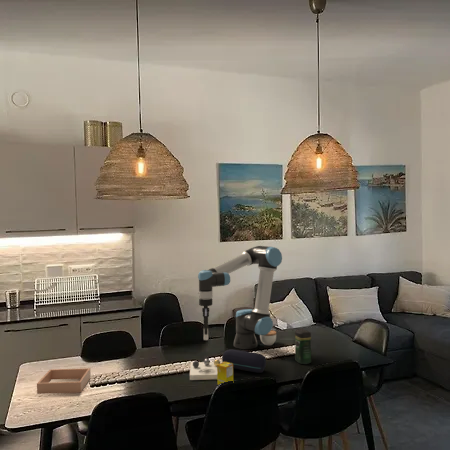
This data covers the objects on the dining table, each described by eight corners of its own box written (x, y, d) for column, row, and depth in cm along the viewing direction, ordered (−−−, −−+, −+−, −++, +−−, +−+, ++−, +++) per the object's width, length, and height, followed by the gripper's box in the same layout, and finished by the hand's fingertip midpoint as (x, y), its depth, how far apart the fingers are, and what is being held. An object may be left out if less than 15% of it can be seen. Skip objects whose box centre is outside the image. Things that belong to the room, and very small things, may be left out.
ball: (209, 363, 263) (209, 357, 263) (210, 366, 260) (209, 359, 260) (203, 364, 263) (203, 358, 263) (203, 366, 260) (203, 360, 260)
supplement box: (224, 382, 242) (224, 361, 242) (233, 385, 239) (233, 363, 238) (217, 386, 238) (216, 364, 237) (226, 388, 234) (226, 366, 234)
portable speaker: (269, 370, 259) (269, 352, 259) (261, 376, 250) (261, 357, 250) (229, 363, 272) (229, 346, 271) (220, 368, 263) (220, 350, 263)
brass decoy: (220, 364, 262) (219, 358, 262) (220, 366, 258) (220, 360, 258) (213, 365, 262) (213, 358, 261) (213, 367, 258) (213, 360, 258)
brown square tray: (90, 377, 252) (90, 368, 252) (80, 392, 232) (80, 382, 232) (50, 378, 251) (49, 369, 251) (37, 393, 231) (36, 383, 231)
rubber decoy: (199, 366, 260) (198, 359, 260) (198, 368, 257) (198, 362, 257) (192, 366, 260) (192, 360, 260) (192, 368, 257) (192, 362, 256)
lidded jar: (256, 342, 311) (256, 328, 311) (271, 340, 316) (271, 326, 315) (265, 347, 301) (264, 332, 301) (279, 344, 306) (279, 330, 306)
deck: (190, 366, 266) (190, 362, 266) (222, 366, 267) (222, 361, 267) (189, 380, 246) (189, 375, 246) (224, 378, 247) (224, 374, 247)
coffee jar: (313, 363, 269) (313, 331, 268) (300, 365, 266) (300, 332, 266) (305, 358, 278) (305, 327, 277) (293, 360, 276) (292, 328, 275)
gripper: (199, 296, 276) (199, 336, 276) (198, 300, 263) (199, 343, 263) (212, 296, 276) (212, 336, 277) (212, 300, 263) (212, 342, 264)
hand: (205, 339), depth 270 cm, fingers closed
